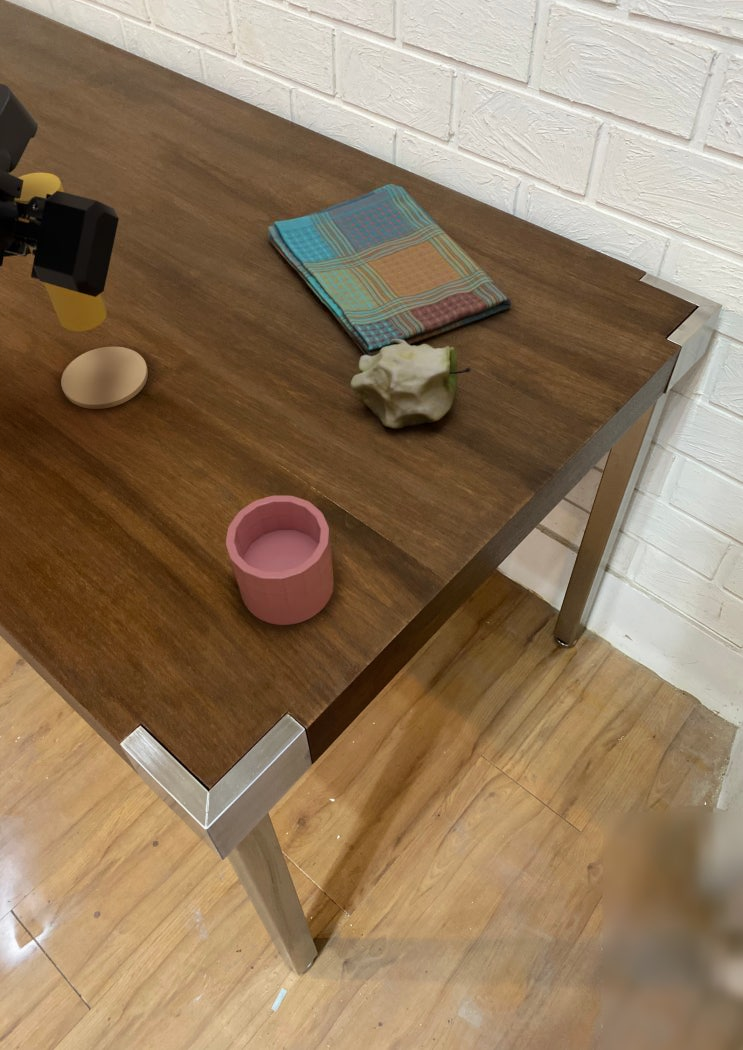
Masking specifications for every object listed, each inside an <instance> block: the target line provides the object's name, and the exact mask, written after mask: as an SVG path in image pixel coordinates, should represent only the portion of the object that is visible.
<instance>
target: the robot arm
mask: <svg viewBox="0 0 743 1050" xmlns="http://www.w3.org/2000/svg"><path fill="white" fill-rule="evenodd" d="M38 129H39V124H38V122H37V120H36V119H35V118H34V116H33V115H32V114H31V113H30V112H29V110H28V109H27V108H26V107H25V105H24V104H23V103H22V102H21V101H20V100H19V98H18V97H17V95H15V93H14V92H13V91H12V90H11V88H10V87H9V86H8V85H6V84H3V83H0V267H3V263H4V258H6V257H16V256H20V257H27V256H28V255H31V256H32V255H33V256H35V257H34V259H33V263H32V268H31V273H30V278H32V279H35V280H38V281H39V282H42V283H43V282H45V283H48V284H52V285H55V286H59V287H62V288H66V289H69V290H73V291H76V292H79V293H83V294H87V295H90V296H94V297H96V296H98V295H99V294H102V293H103V292H104V291H105V287H106V282H107V277H108V272H109V267H110V263H111V258H112V254H113V248H114V245H115V239H116V235H117V229H118V225H119V219H120V218H119V216H118V214H117V212H116V210H115V208H114V207H112V206H109V205H107V204H106V203H103V202H101V201H99V200H97V199H93V198H88V197H84V196H80V195H76V194H72V193H68V192H65V191H64V192H61V191H56V192H55V193H54V194H52V195H50V194H47V195H46V198H42V197H38V196H35V197H32V198H31V199H30V200H29V202H28V203H27V204H25V203H21V202H17V201H14V199H15V198H17V199H19V198H20V197H21V192H22V186H23V181H24V180H22V179H19V178H18V177H16V176H15V175H13V174H11V173H12V172H13V171H14V170H15V169H16V168H17V167H18V165H19V162H20V161H21V158H22V157H23V154H25V153H24V152H25V150H26V149H27V147H28V145H29V143H30V140H31V139H33V138H35V136H36V134H37V131H38ZM30 217H33V218H36V219H32V218H30ZM19 218H23V219H26V220H29V223H27V222H24V221H20V220H19ZM25 238H26V239H25ZM29 247H31V248H34V249H33V251H32V254H31V252H30V249H29Z"/></svg>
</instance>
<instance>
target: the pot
mask: <svg viewBox="0 0 743 1050" xmlns="http://www.w3.org/2000/svg"><path fill="white" fill-rule="evenodd" d="M330 533H331V532H330V526H329V525H328V523H327V519H326V518H325V515H324V513H323V511H321V510H320V509H318V508H317V506H315V505H314V504H313V503H311V502H310V501H308V500H306V499H303V498H301V497H298V496H295V495H270V496H266V497H263V498H260V499H256V500H254V501H252V502H250V503H249V504H248V505H246V506H245V507H243V508H242V509H240V510H239V511H238V512H237V514H236V515H235V517H234V518H233V519H232V521H231V522H230V524H229V525H228V527H227V532H226V537H225V547H226V550H227V554H228V557H229V559H230V564H231V567H232V570H233V573H234V576H235V579H236V583H237V585H238V589H239V593H240V596H241V599H242V602H243V604H244V606H245V607H246V609H247V610H248V611H249V612H250V613H251V614H252V615H253V616H254V617H256V618H257V619H259V620H261V621H263V622H265V623H267V624H272V625H277V626H289V625H295V624H299V623H303V622H305V621H308V620H310V619H311V618H313V617H315V616H316V615H318V614H319V613H320V612H321V611H322V610H323V609H324V608H325V607H326V605H327V604H328V603H329V601H330V599H331V597H332V595H333V592H334V586H335V578H334V569H333V551H332V544H331V543H332V542H331V534H330Z"/></svg>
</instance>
